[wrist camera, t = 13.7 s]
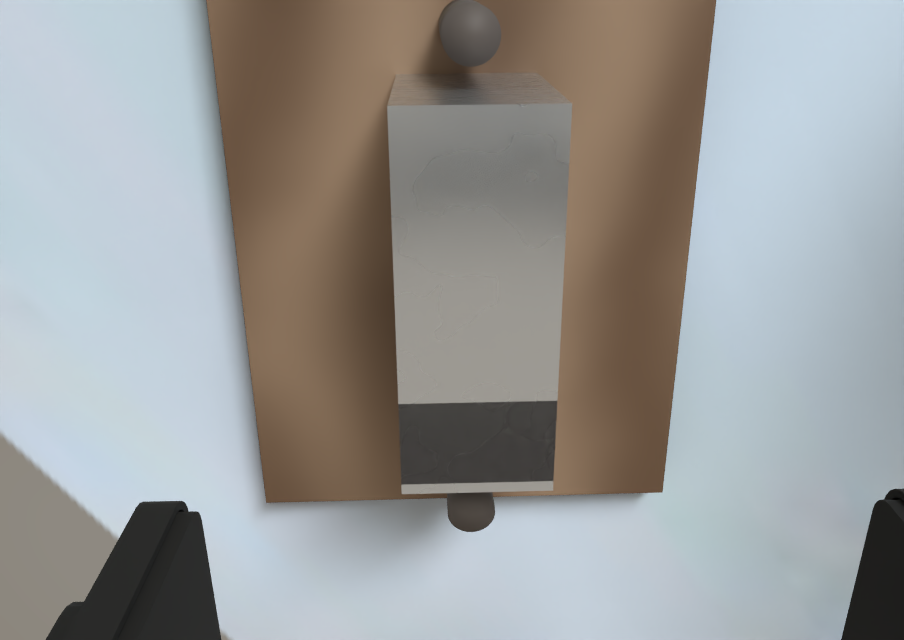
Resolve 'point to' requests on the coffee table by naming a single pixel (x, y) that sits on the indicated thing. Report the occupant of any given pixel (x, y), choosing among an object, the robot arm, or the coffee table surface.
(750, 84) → the coffee table surface
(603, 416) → the pin tray
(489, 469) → the block
